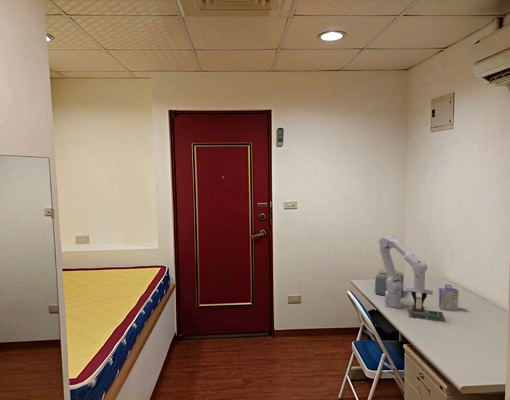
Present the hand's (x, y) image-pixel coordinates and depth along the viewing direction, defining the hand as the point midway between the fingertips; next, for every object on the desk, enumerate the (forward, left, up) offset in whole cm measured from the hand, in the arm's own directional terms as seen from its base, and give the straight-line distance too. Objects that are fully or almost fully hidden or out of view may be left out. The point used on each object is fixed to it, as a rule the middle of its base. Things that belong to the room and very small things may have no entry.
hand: (418, 304), depth 212 cm
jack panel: (+4, 0, -6) cm, 7 cm away
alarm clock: (-16, +32, -6) cm, 36 cm away
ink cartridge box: (+18, +15, -6) cm, 24 cm away
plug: (0, 0, -2) cm, 2 cm away
